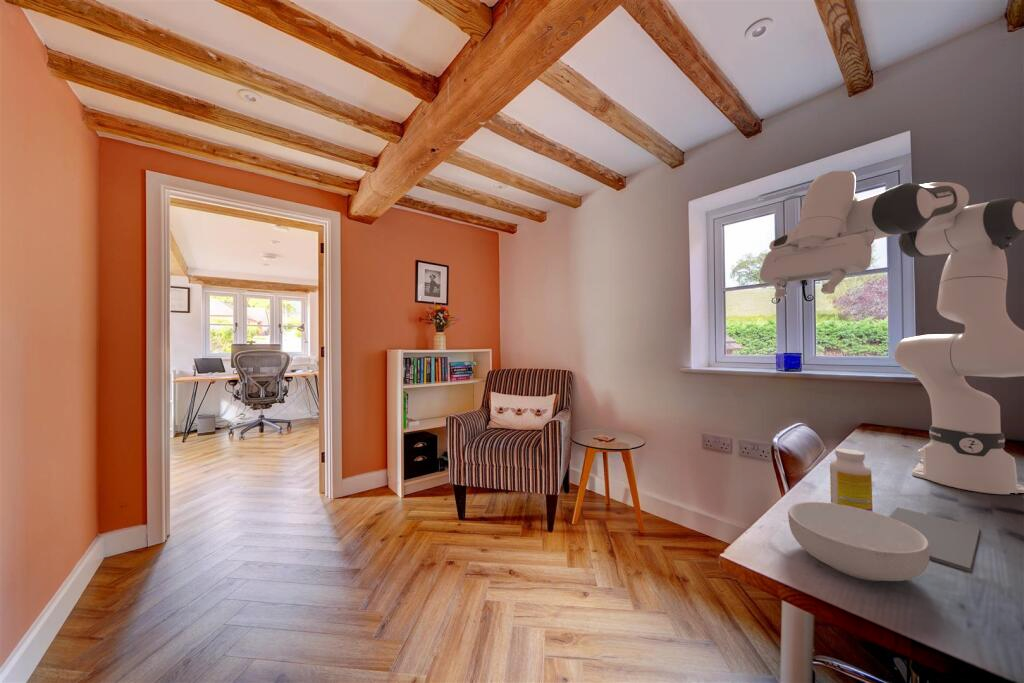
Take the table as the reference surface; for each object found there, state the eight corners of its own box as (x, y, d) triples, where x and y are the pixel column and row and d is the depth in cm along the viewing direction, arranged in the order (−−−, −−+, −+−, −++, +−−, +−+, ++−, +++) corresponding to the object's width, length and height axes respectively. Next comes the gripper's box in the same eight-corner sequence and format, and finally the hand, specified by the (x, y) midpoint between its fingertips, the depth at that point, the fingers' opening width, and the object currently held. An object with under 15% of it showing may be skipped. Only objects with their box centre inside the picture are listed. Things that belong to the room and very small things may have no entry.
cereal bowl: (790, 529, 71) (789, 493, 71) (916, 560, 60) (914, 518, 60) (786, 571, 57) (786, 526, 58) (946, 620, 47) (945, 566, 47)
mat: (897, 509, 78) (897, 507, 78) (979, 530, 69) (979, 527, 69) (873, 541, 66) (873, 538, 66) (970, 571, 57) (970, 568, 57)
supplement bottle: (881, 518, 75) (879, 456, 75) (844, 516, 76) (843, 455, 76) (857, 504, 81) (856, 447, 81) (823, 502, 82) (822, 446, 83)
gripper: (885, 232, 72) (870, 295, 70) (779, 254, 91) (765, 304, 90) (868, 217, 70) (852, 282, 68) (763, 243, 89) (748, 294, 88)
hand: (802, 295), depth 79 cm, fingers open, 8 cm apart
